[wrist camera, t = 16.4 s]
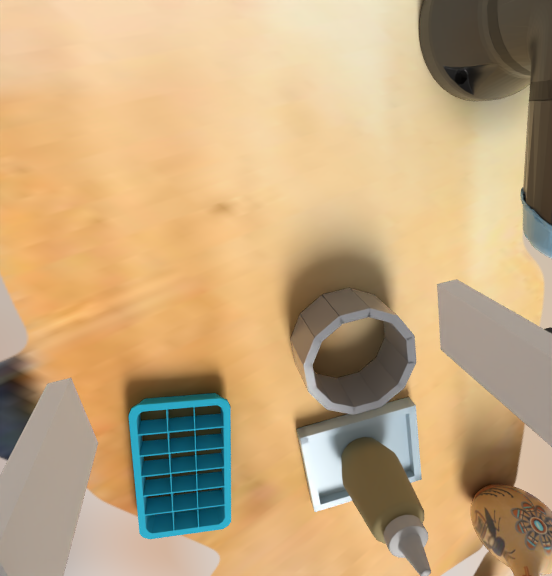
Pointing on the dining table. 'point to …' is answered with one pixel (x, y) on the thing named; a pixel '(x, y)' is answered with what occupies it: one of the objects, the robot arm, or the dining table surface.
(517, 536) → the ceramic vessel
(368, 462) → the squeeze bottle
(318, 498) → the tray
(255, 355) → the dining table surface
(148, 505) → the ice cube tray
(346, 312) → the grey faceted ring
